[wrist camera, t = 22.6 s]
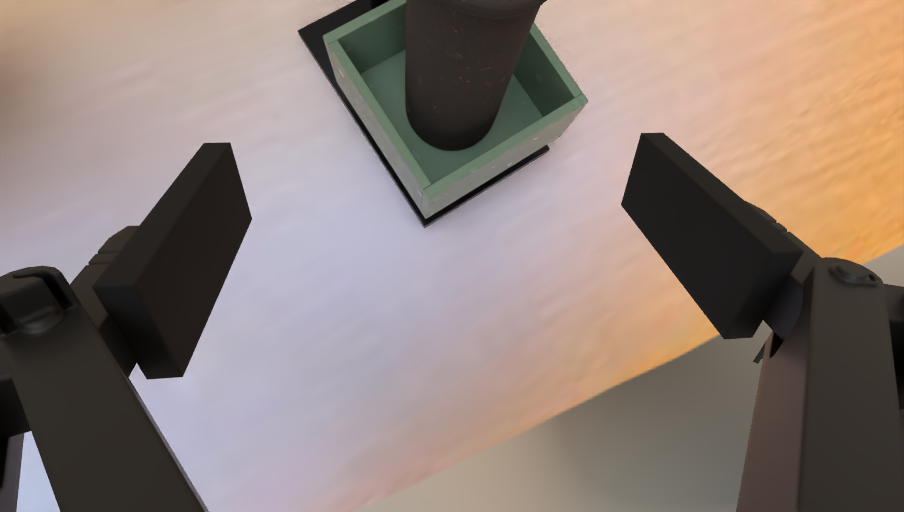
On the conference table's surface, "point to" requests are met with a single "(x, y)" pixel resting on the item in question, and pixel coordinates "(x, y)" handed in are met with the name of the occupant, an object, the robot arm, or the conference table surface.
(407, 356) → the conference table surface
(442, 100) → the container
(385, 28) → the green box on stand
